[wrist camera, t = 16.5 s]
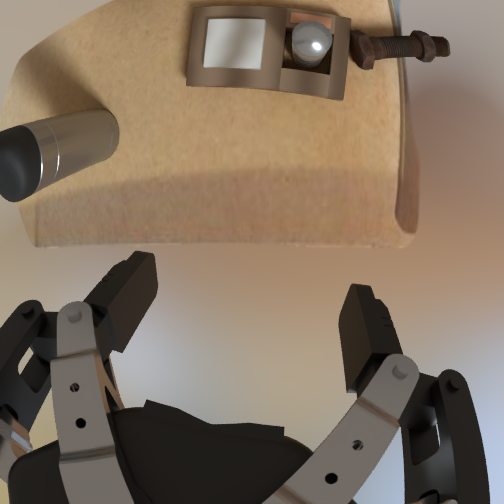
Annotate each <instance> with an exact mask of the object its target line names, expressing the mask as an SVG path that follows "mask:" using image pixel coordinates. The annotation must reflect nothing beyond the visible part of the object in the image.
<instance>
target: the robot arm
mask: <svg viewBox="0 0 504 504" xmlns="http://www.w3.org/2000/svg"><path fill="white" fill-rule="evenodd" d="M118 141H119V128H118V124H117V121H116V119H115V118H114V116H113V115H112V114H111V113H110V112H108V111H106V110H104V109H95V110H88V111H81V112H75V113H69V114H64V115H59V116H54V117H50V118H45V119H41V120H37V121H33V122H30V123H26V124H22V125H19V126H15V127H12V128H9V129H6V130H4V131H1V132H0V194H1V195H2V197H4V198H5V199H6V200H8V201H10V202H19V201H21V200H23V199H25V198H27V197H29V196H30V195H32V194H34V193H36V192H37V191H39V190H41V189H43V188H45V187H47V186H49V185H51V184H53V183H55V182H57V181H59V180H61V179H63V178H65V177H67V176H69V175H71V174H73V173H76V172H78V171H80V170H82V169H85V168H87V167H89V166H92V165H94V164H96V163H99V162H101V161H104V160H106V159H107V158H109V157H110V156H111V155H112V154H113V153H114V151H115V150H116V147H117V145H118ZM157 290H158V281H157V272H156V264H155V256H154V254H153V253H148V252H142V251H135V252H134V253H133V254H132V255H131V256H130V257H129V258H128V259H127V260H126V261H125V260H123V261H121V262H120V263H118V264H116V265H114V266H113V267H112V268H111V269H110V271H109V272H108V273H107V275H105V276H104V277H103V278H102V281H100V282H99V283H98V284H97V285H96V287H95V288H94V289H93V290H92V291H91V292H90V293H89V295H88V296H87V297H86V298H85V299H84V301H83V302H80V301H76V302H71V303H69V304H67V305H65V306H64V307H63V308H62V309H61V310H60V311H59V312H45V311H44V309H43V307H42V304H41V303H40V302H39V301H37V300H28V301H25V302H23V303H22V304H20V305H19V306H18V307H17V308H16V310H15V311H14V312H13V313H12V314H11V316H10V317H9V318H8V319H7V320H6V322H5V323H4V324H3V326H2V327H1V328H0V478H1V479H2V480H4V481H5V482H6V483H7V484H8V493H9V503H10V504H357V503H356V502H355V501H354V500H353V499H352V498H353V497H354V496H355V494H356V493H357V492H358V490H359V489H360V488H361V486H362V485H363V484H364V482H365V481H366V480H367V478H368V477H369V475H370V474H371V472H372V471H373V470H374V468H375V467H376V465H377V464H378V462H379V460H380V459H381V457H382V456H383V454H384V453H385V451H386V449H387V448H388V446H389V444H390V443H391V441H392V439H393V438H394V436H395V434H396V433H397V431H398V429H399V427H401V433H402V445H403V458H404V482H405V504H490V492H489V481H488V473H487V466H486V459H485V454H484V447H483V443H482V438H481V433H480V428H479V424H478V420H477V416H476V412H475V408H474V405H473V401H472V398H471V394H470V391H469V388H468V385H467V382H466V380H465V378H464V377H463V376H462V375H461V374H460V373H459V372H457V371H455V370H452V369H448V370H444V371H443V372H442V373H441V374H440V375H439V376H438V377H433V376H430V375H426V374H423V373H420V372H419V369H418V367H417V365H416V364H415V362H414V361H413V360H412V359H410V358H409V357H407V356H405V355H403V352H402V349H401V346H400V343H399V340H398V337H397V334H396V331H395V328H394V325H393V322H392V320H391V316H390V314H389V311H388V308H387V307H386V306H385V305H384V303H383V302H382V301H381V300H380V299H375V297H374V294H373V291H372V288H371V286H368V285H361V284H351V286H350V288H349V291H348V293H347V296H346V299H345V302H344V304H343V307H342V310H341V313H340V316H339V333H340V340H341V348H342V355H343V363H344V372H345V381H346V391H347V393H357V400H356V401H355V403H354V404H353V405H352V407H351V408H350V409H349V411H348V412H347V413H346V414H345V416H344V417H343V418H342V419H341V421H340V422H339V423H338V425H337V426H336V427H335V428H334V429H333V430H332V432H331V433H330V434H329V435H328V436H327V438H326V439H325V440H324V441H323V442H322V443H321V444H320V445H319V446H318V448H317V449H316V450H315V451H314V452H312V451H311V450H310V449H309V448H308V447H306V446H305V445H303V444H302V443H300V442H298V441H297V440H294V439H292V438H290V437H287V436H284V427H280V426H271V425H261V424H254V423H239V424H209V423H207V422H204V421H202V420H200V419H198V418H196V417H194V416H192V415H190V414H188V413H186V412H184V411H182V410H180V409H178V408H175V407H171V406H167V405H164V404H160V403H157V402H153V401H150V400H146V402H145V405H144V407H132V408H125V407H124V405H123V403H122V400H121V398H120V394H119V391H118V388H117V384H116V380H115V376H114V372H113V367H112V363H111V359H110V356H109V355H110V353H111V351H112V350H114V351H117V352H120V353H123V351H124V350H125V348H126V346H127V344H128V343H129V340H130V339H131V337H132V336H133V334H134V332H135V330H136V329H137V327H138V325H139V323H140V322H141V320H142V318H143V317H144V315H145V313H146V312H147V310H148V309H149V307H150V305H151V304H152V302H153V300H154V299H155V297H156V294H157ZM29 347H30V348H31V350H32V351H33V353H34V354H33V355H32V357H31V358H30V360H29V362H28V363H27V364H26V366H25V368H24V370H23V371H22V373H21V374H20V375H19V372H18V364H19V362H20V360H21V359H22V357H23V356H24V354H25V352H26V351H27V350H28V348H29ZM51 387H52V397H53V407H54V415H55V422H56V429H57V435H58V440H56V441H54V442H51V443H49V444H47V445H45V446H43V447H40V448H38V449H36V450H33V447H32V444H31V443H30V437H29V431H30V429H31V427H32V425H33V423H34V420H35V419H36V416H37V414H38V412H39V410H40V408H41V406H42V404H43V402H44V400H45V398H46V396H47V395H48V393H49V391H50V389H51ZM436 424H438V430H439V437H440V446H439V441H438V435H437V429H436ZM32 450H33V451H32Z"/></svg>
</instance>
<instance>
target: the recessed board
mask: <svg viewBox="0 0 504 504" xmlns="http://www.w3.org/2000/svg"><path fill="white" fill-rule="evenodd" d="M304 21H316V22H319V23H321V24H323V25H325V26H326V27H327V28H328V29H329V30H330V32H331V34H332V44H331V46H330V55H329V65H328V75H326V74H321V73H315V72H309V71H302V70H295V69H287V68H283V59H284V49H285V40H286V33H292V32H293V30H294V28H295V27H296V26H297V25H298V24H299V23H301V22H304ZM350 28H351V18H346V17H342V16H337V15H332V14H327V13H321V12H315V11H309V10H301V9H293V8H283V7H270V6H210V7H197V8H195V9H194V16H193V23H192V31H191V39H190V48H189V58H188V68H187V80H186V86H191V87H232V88H249V89H262V90H272V91H281V92H289V93H297V94H304V95H310V96H316V97H322V98H327V99H332V100H337V101H342V100H343V99H344V91H345V82H346V73H347V64H348V53H349V41H350Z"/></svg>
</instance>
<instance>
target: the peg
mask: <svg viewBox="0 0 504 504" xmlns="http://www.w3.org/2000/svg"><path fill="white" fill-rule="evenodd" d="M331 44H332V34H331V32H330V30H329V29H328V28H327V27H326V26H325V25H323V24H321V23H319V22H316V21H304V22H301V23H299V24H298V25H297V26H296V27H295V28H294V30H293V32H292V57H293V59H294V61H295V62H296V63H297V64H298V65H299V66H301V67H304V68H313V67H316V66H317V65H319V64H320V62H321V61H322V59H323V57H324V56H325V54H326V53H327V51H328V50H329V48H330V46H331Z"/></svg>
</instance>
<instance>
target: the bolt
mask: <svg viewBox="0 0 504 504" xmlns="http://www.w3.org/2000/svg"><path fill="white" fill-rule="evenodd" d="M349 49H350V52H351V55H352V57H353V59H354V61H355V63H356V64H357V66H358V67H359V68H361V69H364V70H369V69H373V66H374V60H381V59H385V58H400V57H416V58H417V59H418V60H420V61H423V62H431V61H432V60H433V59H434V58H435V56H437V57H438V56H439V57H440V56H441V57H447V56H449V55H450V46H449V42H448V41H447V40H446V39H444V37H436V36H429V35H428V34H427V33H425V32H422V31H415V30H414V31H412V33H411V35H410V36H391V37H368V35H367V34H365V33H363V32H361V31H359V30H354V31H350V41H349Z"/></svg>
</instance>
